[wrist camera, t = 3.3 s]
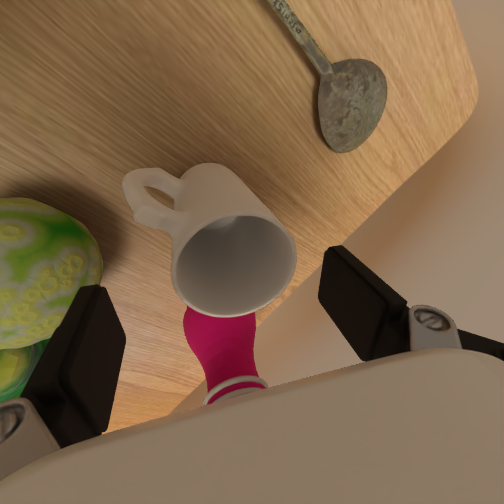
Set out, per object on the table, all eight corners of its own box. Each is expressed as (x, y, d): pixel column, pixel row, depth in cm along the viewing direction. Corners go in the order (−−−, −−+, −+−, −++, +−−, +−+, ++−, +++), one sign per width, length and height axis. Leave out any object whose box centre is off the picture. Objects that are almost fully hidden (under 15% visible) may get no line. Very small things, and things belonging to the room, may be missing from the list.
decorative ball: (128, 208, 21) (101, 277, 13) (97, 294, 25) (61, 391, 17) (-26, 152, 17) (-211, 204, 9) (-38, 267, 20) (-179, 381, 12)
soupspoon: (337, 165, 26) (384, 108, 24) (359, 172, 23) (413, 109, 21) (121, -85, 14) (189, -226, 12) (113, -131, 11) (199, -321, 9)
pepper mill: (205, 256, 26) (261, 523, 10) (256, 282, 30) (358, 507, 14) (169, 304, 28) (166, 593, 12) (220, 322, 32) (273, 562, 15)
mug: (259, 186, 24) (320, 249, 14) (220, 240, 26) (249, 329, 16) (159, 114, 19) (145, 133, 9) (120, 188, 21) (72, 270, 11)
